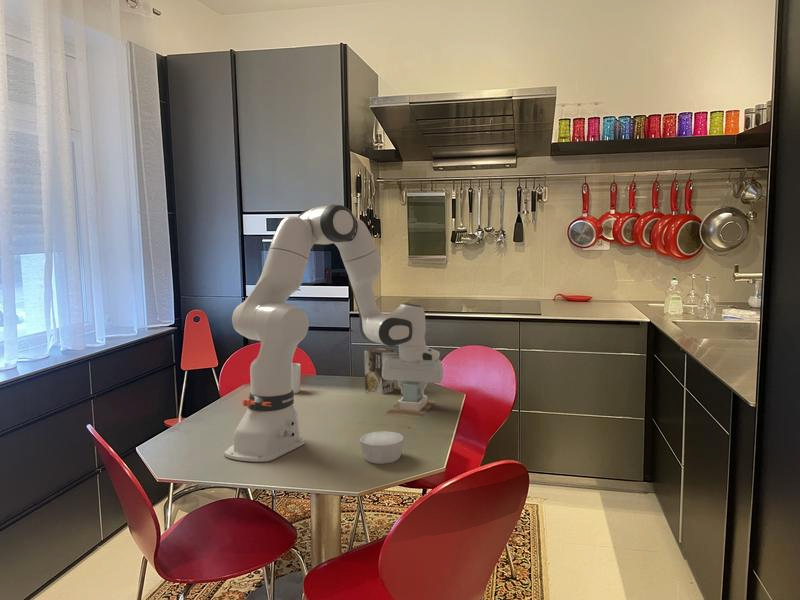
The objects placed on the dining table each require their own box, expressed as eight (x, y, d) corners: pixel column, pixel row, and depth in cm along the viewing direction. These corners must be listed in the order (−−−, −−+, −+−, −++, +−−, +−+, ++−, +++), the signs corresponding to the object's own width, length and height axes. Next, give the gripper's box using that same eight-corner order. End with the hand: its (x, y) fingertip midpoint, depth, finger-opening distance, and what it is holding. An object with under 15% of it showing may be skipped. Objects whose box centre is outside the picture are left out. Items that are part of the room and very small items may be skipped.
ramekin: (351, 456, 154) (351, 436, 153) (386, 447, 161) (386, 428, 160) (376, 469, 145) (376, 448, 144) (412, 459, 152) (412, 438, 151)
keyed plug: (421, 398, 197) (421, 380, 197) (416, 404, 191) (416, 385, 190) (408, 397, 199) (408, 379, 198) (402, 402, 192) (402, 384, 191)
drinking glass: (303, 389, 222) (302, 363, 221) (298, 394, 215) (297, 367, 214) (285, 389, 222) (285, 362, 221) (280, 393, 216) (279, 366, 215)
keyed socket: (419, 411, 189) (419, 403, 189) (397, 409, 191) (397, 401, 191) (427, 402, 198) (427, 395, 198) (405, 401, 201) (405, 393, 200)
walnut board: (420, 421, 182) (420, 418, 182) (383, 418, 185) (383, 414, 185) (436, 404, 201) (436, 400, 201) (402, 401, 204) (402, 398, 204)
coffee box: (394, 394, 214) (394, 349, 213) (382, 397, 210) (381, 352, 208) (376, 389, 220) (376, 346, 219) (364, 393, 216) (363, 349, 214)
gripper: (378, 353, 193) (379, 394, 194) (440, 356, 187) (440, 399, 188) (384, 349, 199) (385, 389, 200) (444, 352, 193) (444, 394, 194)
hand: (412, 394), depth 194 cm, fingers closed on keyed plug, 4 cm apart
